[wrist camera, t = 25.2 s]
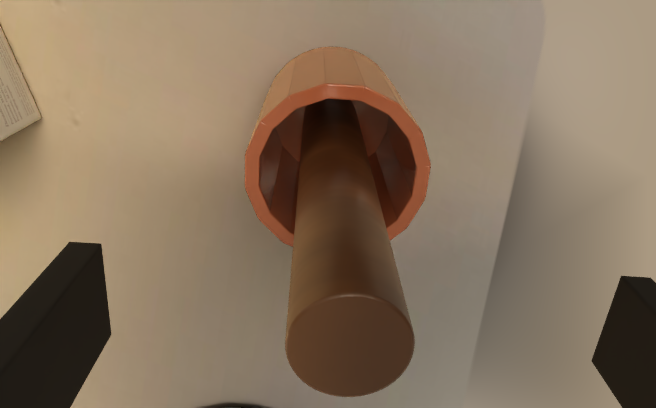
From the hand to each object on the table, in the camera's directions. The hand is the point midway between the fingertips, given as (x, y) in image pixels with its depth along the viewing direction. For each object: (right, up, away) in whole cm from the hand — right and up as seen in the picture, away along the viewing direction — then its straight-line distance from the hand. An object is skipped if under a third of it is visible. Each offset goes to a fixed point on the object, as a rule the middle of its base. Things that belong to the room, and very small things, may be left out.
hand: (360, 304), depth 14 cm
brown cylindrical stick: (-1, +7, +17) cm, 18 cm away
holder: (-1, +8, +17) cm, 19 cm away
